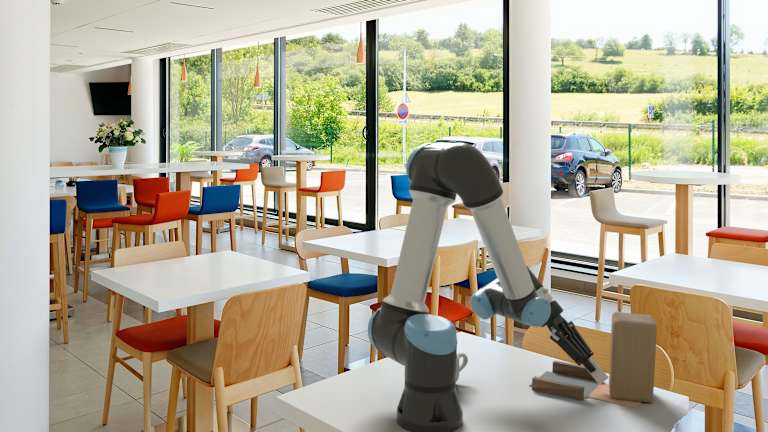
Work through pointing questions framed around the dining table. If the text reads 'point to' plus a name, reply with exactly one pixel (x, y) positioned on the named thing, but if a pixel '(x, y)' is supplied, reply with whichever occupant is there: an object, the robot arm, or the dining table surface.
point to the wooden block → (632, 356)
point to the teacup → (459, 368)
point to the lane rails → (560, 387)
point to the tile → (604, 394)
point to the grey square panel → (571, 381)
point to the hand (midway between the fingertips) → (603, 380)
